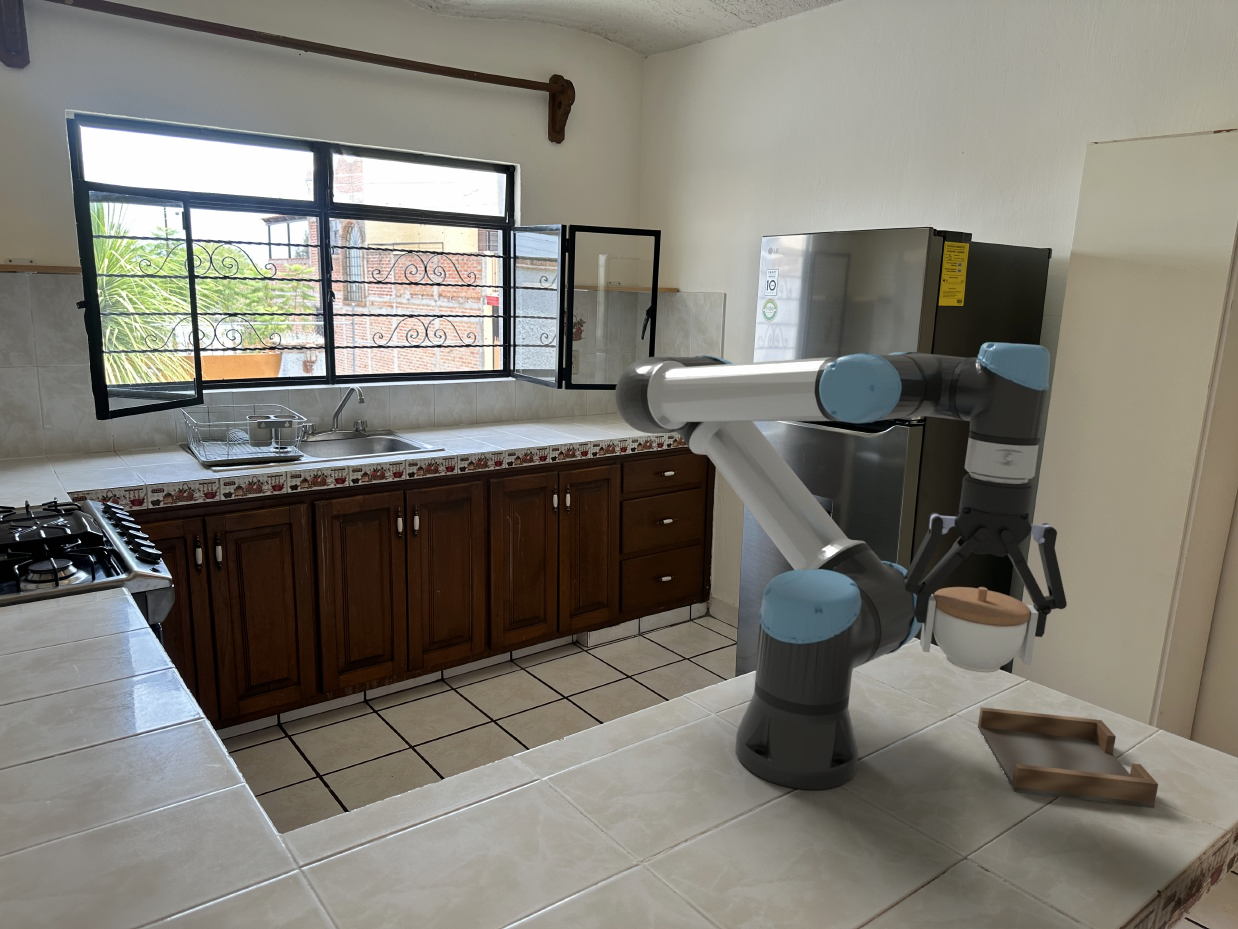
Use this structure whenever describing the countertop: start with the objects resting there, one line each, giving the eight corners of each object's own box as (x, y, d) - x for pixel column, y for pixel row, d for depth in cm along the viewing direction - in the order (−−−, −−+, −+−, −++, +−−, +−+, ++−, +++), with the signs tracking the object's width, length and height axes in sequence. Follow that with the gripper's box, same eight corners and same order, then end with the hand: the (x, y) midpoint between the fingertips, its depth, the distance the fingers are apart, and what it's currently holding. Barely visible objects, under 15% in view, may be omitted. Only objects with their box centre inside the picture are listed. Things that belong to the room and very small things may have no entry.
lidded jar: (1007, 649, 107) (1017, 579, 105) (1033, 686, 96) (1045, 608, 95) (919, 640, 109) (928, 570, 107) (935, 675, 98) (945, 598, 96)
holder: (1014, 791, 102) (1017, 768, 101) (977, 727, 117) (980, 707, 117) (1153, 808, 100) (1158, 784, 99) (1097, 741, 115) (1101, 720, 115)
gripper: (898, 473, 97) (877, 653, 101) (1118, 492, 92) (1087, 680, 96) (891, 462, 104) (872, 630, 108) (1095, 479, 100) (1067, 654, 104)
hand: (973, 654), depth 102 cm, fingers closed on lidded jar, 11 cm apart
